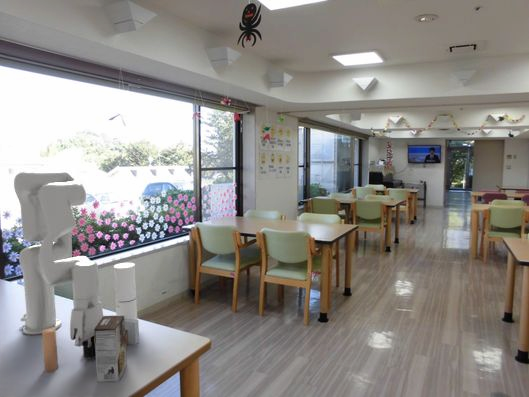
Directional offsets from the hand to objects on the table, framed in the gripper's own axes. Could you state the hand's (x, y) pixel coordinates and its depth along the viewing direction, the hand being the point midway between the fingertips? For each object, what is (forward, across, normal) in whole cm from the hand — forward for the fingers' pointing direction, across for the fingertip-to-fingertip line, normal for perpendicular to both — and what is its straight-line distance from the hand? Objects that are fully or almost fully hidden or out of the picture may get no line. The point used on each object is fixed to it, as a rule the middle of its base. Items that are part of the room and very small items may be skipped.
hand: (90, 356), depth 126 cm
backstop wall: (+1, -14, 0) cm, 14 cm away
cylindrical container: (+1, -20, -1) cm, 21 cm away
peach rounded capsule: (+1, +8, -8) cm, 11 cm away
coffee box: (+1, +4, +12) cm, 12 cm away
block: (+1, -8, 0) cm, 8 cm away
